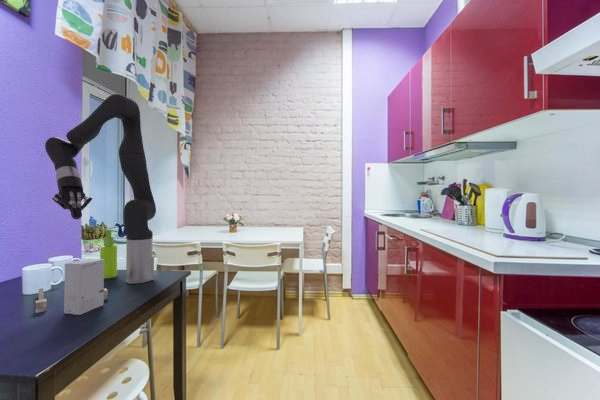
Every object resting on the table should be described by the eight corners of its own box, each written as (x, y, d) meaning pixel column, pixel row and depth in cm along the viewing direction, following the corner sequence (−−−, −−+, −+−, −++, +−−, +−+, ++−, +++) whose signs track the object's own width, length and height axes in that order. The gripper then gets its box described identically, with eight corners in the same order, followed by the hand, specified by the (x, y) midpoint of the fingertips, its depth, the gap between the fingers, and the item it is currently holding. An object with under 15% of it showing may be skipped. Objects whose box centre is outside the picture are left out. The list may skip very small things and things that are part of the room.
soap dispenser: (113, 278, 117) (113, 230, 117) (96, 278, 117) (97, 230, 117) (122, 274, 123) (122, 228, 122) (106, 274, 123) (106, 228, 122)
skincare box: (79, 315, 81) (80, 264, 81) (62, 313, 83) (62, 263, 82) (105, 304, 90) (105, 258, 89) (89, 303, 91) (89, 257, 91)
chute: (99, 286, 107) (99, 278, 107) (107, 298, 95) (107, 290, 94) (36, 296, 96) (36, 287, 95) (35, 313, 83) (35, 303, 83)
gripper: (53, 172, 105) (61, 212, 99) (92, 178, 116) (101, 214, 111) (43, 183, 107) (50, 222, 102) (83, 188, 119) (91, 223, 113)
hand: (77, 218), depth 106 cm, fingers closed
